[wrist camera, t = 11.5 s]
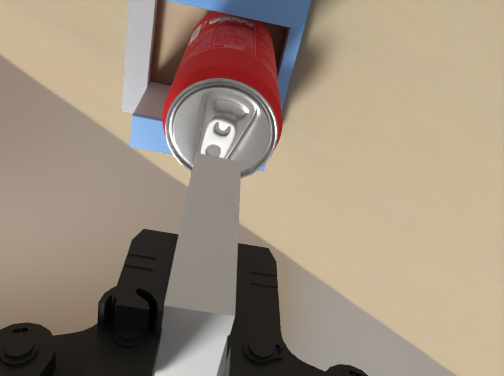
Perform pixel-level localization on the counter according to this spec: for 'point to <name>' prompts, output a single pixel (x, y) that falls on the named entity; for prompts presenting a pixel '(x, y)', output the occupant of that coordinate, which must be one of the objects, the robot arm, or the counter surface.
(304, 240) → the counter surface
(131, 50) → the grey blue slotted rack
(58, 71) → the counter surface
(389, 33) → the counter surface
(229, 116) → the beverage can
